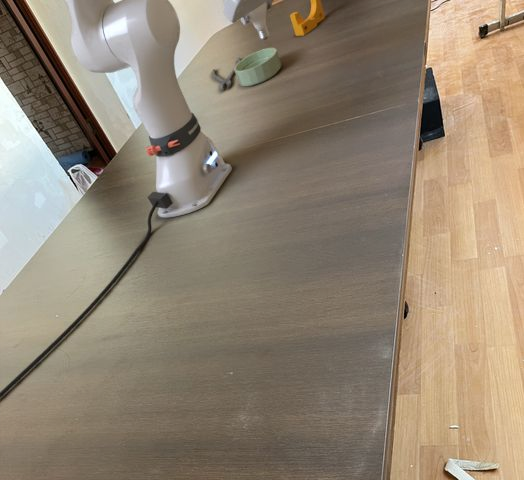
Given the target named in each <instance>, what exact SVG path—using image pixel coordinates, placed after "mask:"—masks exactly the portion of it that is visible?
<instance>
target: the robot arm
mask: <svg viewBox="0 0 524 480" xmlns="http://www.w3.org/2000/svg"><path fill="white" fill-rule="evenodd" d="M274 1H275V0H223V2H222V3H223V6H222V9H223V10H222V11H223V14H224V15H225V17H226V18H227V19H228V21H230V22H231V23H233V24H235V23H237V22H238V21H240V22H241V23H242V24H243V25H244V26H246V25H247V24H248V23H250V20H249V19H250V18H249V16H247V14H249V13H250V12H252V11H253V10H255V9H256V8H258V7H259V6H261V5H262V4H264V3H265V2H266V3H267V11H268V10H270V9H271V8H272V6H273V3H274ZM65 3H66V5H67V8H68V11H69V15H70V19H71V20H70V21H71V34H70V43H71V49H72V51H73V53H74V56H75V58H76V60H77V61H78V62H79V64H80V65H81V66H82V67H83V68H85V69H86V70H87V71H88V72H91V73H94V74H95V73H96V74H97V73H99V74H100V73H101V74H112V73H115V72H120V71H122V70H125V69H128V68H131V69H132V71H133V73H134V75H135V80H136V84H137V88H136V89H135V91H134V93H133V97H132V106H133V109H134V111H135V113H136V115H137V116H138V118H139V120H140V121H141V123H142V125H143V127H144V129H145V130H146V132H147V134H148V139H149V142H150V143H149V144H150V146H146V148H145V150H146V154H147V155H148V156H149V157H152V156H155V159H156V160H155V189H156V191H152V192H151V193H150V194H149V195H147V199H148V201H149V202H150V204H151V206H152V207H151V209H150V211H149V214H148V216H147V233H146V236H145V237H144V239H143V240H142V242H141V243H140V244H139V245H138V246H137V247H136V248H135V250H134V251H133V252H132V254H131V255H130V257H129V258H128V259H127V261H126V262H125V263H124V264H123V265H122V267H121V268H120V270H118V272H117V273H116V274H115V276H114V277H113V278H112V279H111V281H110V282H109V283H108V284H107V285H106V286H105V287H104V289H103V290H102V291H101V292H100V293H99V295H98V296H96V298H95V299H93V301H92V302H91V303H90V304H89V306H87V308H86V309H85V310H84V311H83V312H81V314H80V315H79V316H78V317H77V318H76V319H75V320H74V321H73V322H72V323H71V324H70V325H69V326H68V327H67V328H66V329H65V330H64V331H63V332H62V333H61V334H60V335H59V336H58V337H57V338H56V339H55V340H54V341H52V342H51V344H49V346H48V347H47V348H46V349H44V350H43V351H42V352H41V353H40V354H39V355H38V356H37V357H36V358H35V359H34V360H33V361H32V362H31V363H29V365H28V366H27V367H25V368H24V369H23V370H22V371H21V372H20V373H19V374H18V375H17V376H15V378H13V380H11V381H10V382H9V383H8V384H7V385H6V386H5V387H4V388H3V389H2V390H1V391H0V399H1V398H2V397H3V396H4V395H5V394H6V393H7V392H8V391H9V390H10V389H12V388H13V387H14V385H16V384H17V383H18V382H19V381H20V380H21V379H22V378H23V377H24V376H26V375H27V373H29V371H31V370H32V369H33V368H34V367H35V366H36V365H37V364H38V363H39V362H40V361H41V360H42V359H44V357H45V356H47V355H48V354H49V353H50V352H51V351H52V350H53V348H55V347H56V346H57V345H58V344H59V343H60V342H61V341H62V340H63V339H64V338H65V337H67V335H68V334H69V333H70V332H71V331H72V330H73V329H74V328H75V327H76V326H78V324H79V323H80V322H81V321H82V320H83V319H84V318H85V317H86V315H88V314H89V312H90V311H91V310H92V309H93V308H94V307H95V306H96V305H97V304H98V303H99V301H100V300H101V299H102V298H103V297H104V296H105V295H106V294H107V293H108V291H110V289H111V288H112V287H113V285H114V284H115V283H116V282H117V281H118V279H119V278H120V277H121V276H122V275H123V273H124V272H125V270H126V269H127V268H128V267H129V265H130V264H131V263H132V262H133V260H134V259H135V258H136V256H137V255H138V253H139V252H140V250H141V249H142V248H143V247H144V246H145V245H146V244H147V242H148V241H149V238H150V236H151V233H152V218H153V214H154V212H155V211H156V208H158V209H157V215H158V217H160V218H165V219H167V218H174V217H175V218H176V217H179V216H183V215H187V214H190V213H193V212H196V211H198V210H200V209H202V208H205V207H206V206H208V205H209V204H210V203H211V201H212V199H213V198H214V196H215V195H216V194H217V192H218V191H219V189H220V188H221V186H222V185H223V183H224V182H225V180H226V179H227V177H228V176H229V174H230V173H231V172H232V171H233V167H232V165H231V164H230V163H225V161H224V159H223V158H222V156H221V154H220V152H219V149H218V148H217V146H216V145H215V143H214V142H213V140H212V139H211V138H210V137H208V136H207V135H206V134H205V133H204V132H203V131H202V130H201V129H202V128H201V125H200V123H199V120H198V118H197V117H196V115H195V114H194V113H193V112H192V110H191V109H190V107H189V105H188V102H187V100H186V98H185V95H184V94H183V91H182V89H181V87H180V84H179V81H178V78H177V73H176V66H175V54H176V49H177V46H178V44H179V41H180V36H181V24H180V23H181V22H180V20H179V16H178V13H177V11H176V9H175V7H174V5H173V4H172V3H171V1H170V0H119V1H116V2H115V1H114V0H65Z"/></svg>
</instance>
